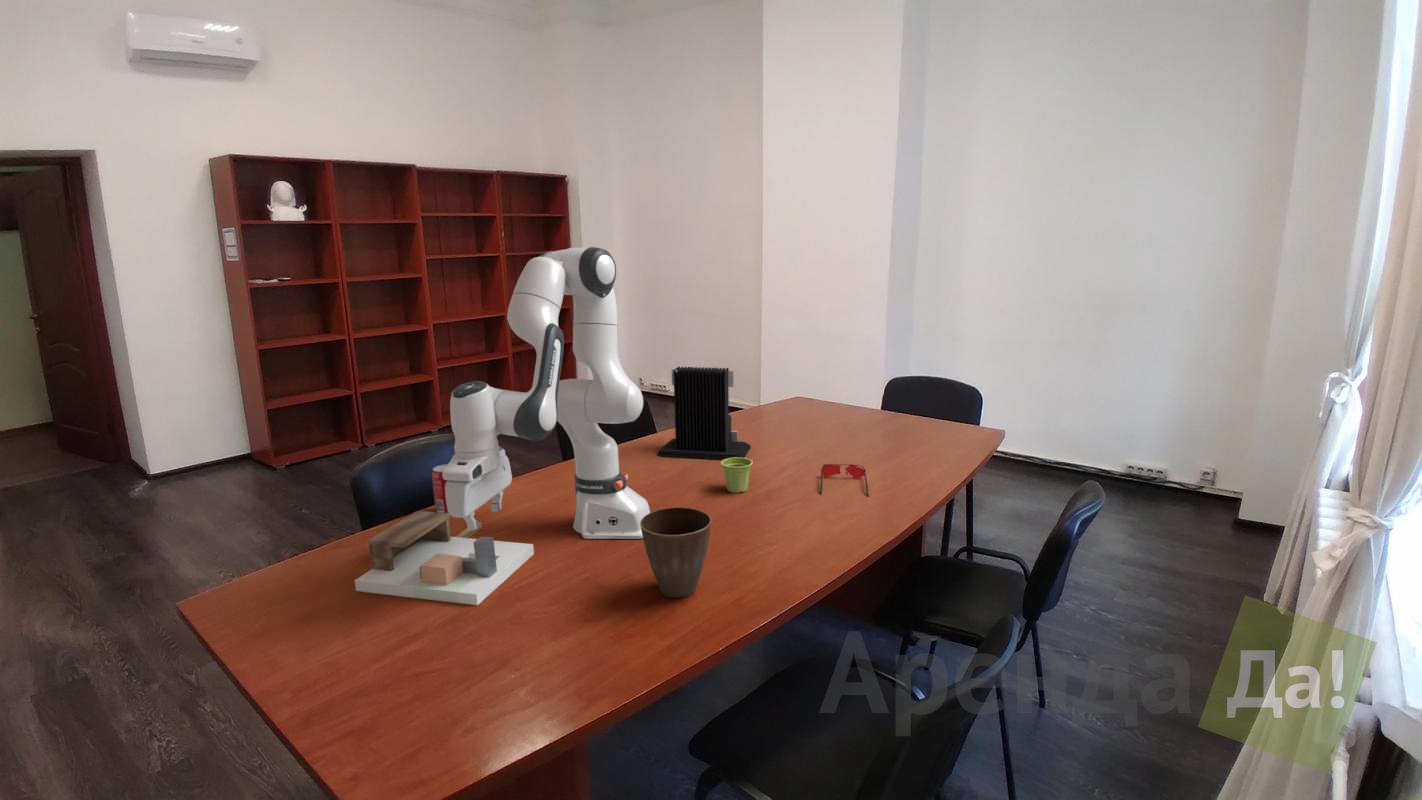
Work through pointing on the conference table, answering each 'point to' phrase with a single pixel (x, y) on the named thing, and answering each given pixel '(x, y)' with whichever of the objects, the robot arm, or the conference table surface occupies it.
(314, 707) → the conference table surface
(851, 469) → the glasses
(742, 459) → the plant pot
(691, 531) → the plant pot
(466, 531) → the brass bar
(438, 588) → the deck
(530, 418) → the robot arm
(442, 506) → the soda can
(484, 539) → the grey l-shaped bracket
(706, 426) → the black finned heatsink
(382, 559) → the stand
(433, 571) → the terracotta block
